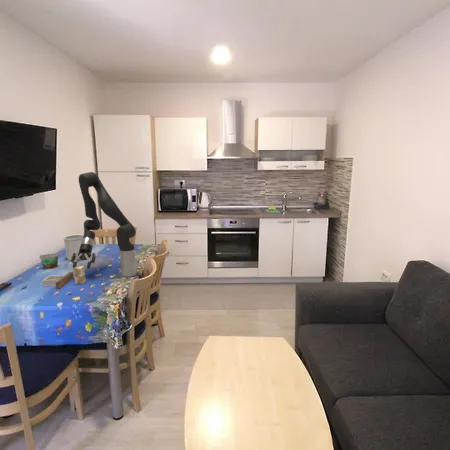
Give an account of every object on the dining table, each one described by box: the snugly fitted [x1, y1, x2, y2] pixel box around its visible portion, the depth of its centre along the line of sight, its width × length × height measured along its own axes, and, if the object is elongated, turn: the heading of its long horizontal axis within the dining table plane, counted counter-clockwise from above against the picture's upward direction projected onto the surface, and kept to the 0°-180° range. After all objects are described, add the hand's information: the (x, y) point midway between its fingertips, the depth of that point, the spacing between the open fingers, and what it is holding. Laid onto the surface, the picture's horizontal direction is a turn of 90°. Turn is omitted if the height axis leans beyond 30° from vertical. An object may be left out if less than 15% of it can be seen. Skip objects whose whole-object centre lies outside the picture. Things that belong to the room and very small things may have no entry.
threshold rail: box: [55, 271, 74, 290], centre depth 198 cm, size 2×18×4 cm, turn 1°
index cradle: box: [41, 274, 63, 287], centre depth 198 cm, size 8×8×4 cm
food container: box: [39, 252, 59, 270], centre depth 227 cm, size 12×6×10 cm, turn 105°
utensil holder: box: [62, 233, 84, 261], centre depth 248 cm, size 15×15×18 cm
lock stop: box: [73, 265, 86, 285], centre depth 197 cm, size 4×4×10 cm
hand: (81, 268), depth 200 cm, fingers open, 8 cm apart
